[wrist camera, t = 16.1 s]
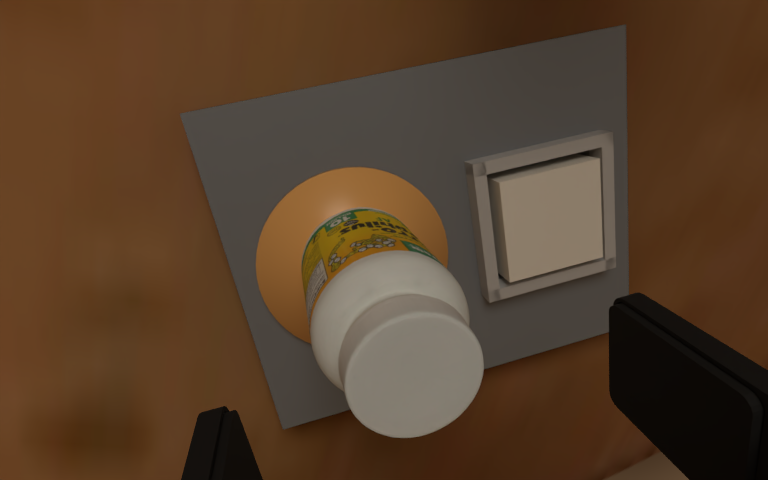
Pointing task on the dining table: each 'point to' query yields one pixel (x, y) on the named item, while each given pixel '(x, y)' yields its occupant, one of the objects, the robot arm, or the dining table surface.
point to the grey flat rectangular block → (418, 191)
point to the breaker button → (546, 215)
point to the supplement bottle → (389, 324)
